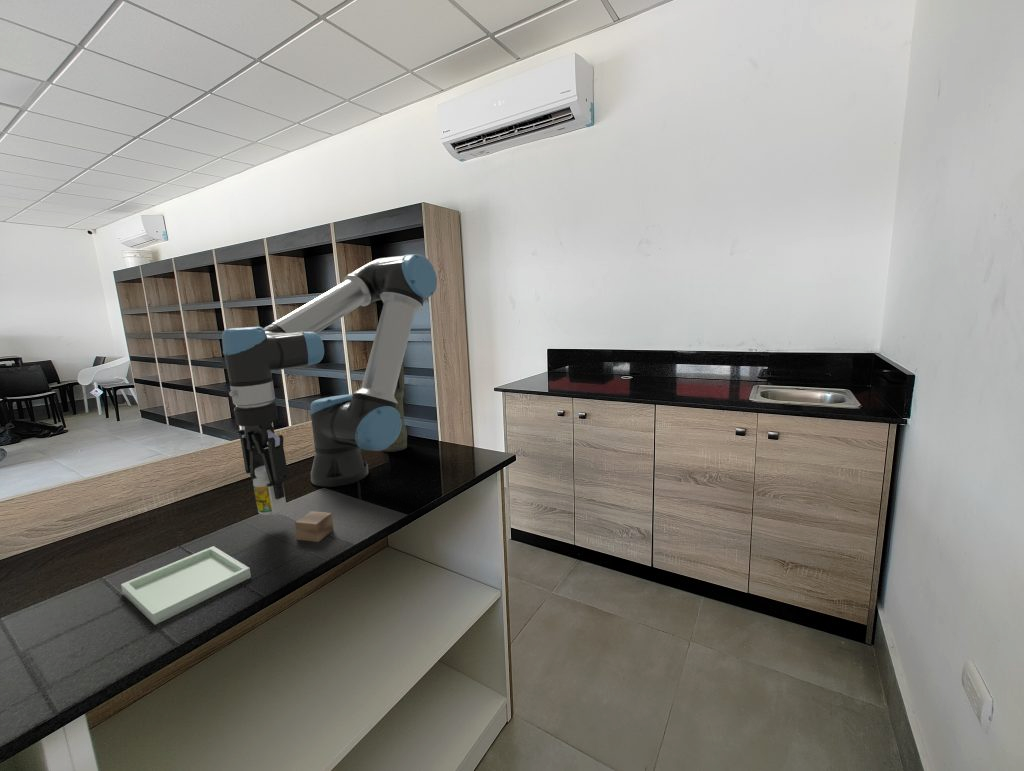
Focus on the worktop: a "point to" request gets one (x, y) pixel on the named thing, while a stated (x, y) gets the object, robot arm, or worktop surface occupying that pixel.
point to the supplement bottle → (262, 491)
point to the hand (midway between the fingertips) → (272, 508)
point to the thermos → (399, 394)
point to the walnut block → (314, 526)
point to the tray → (184, 583)
